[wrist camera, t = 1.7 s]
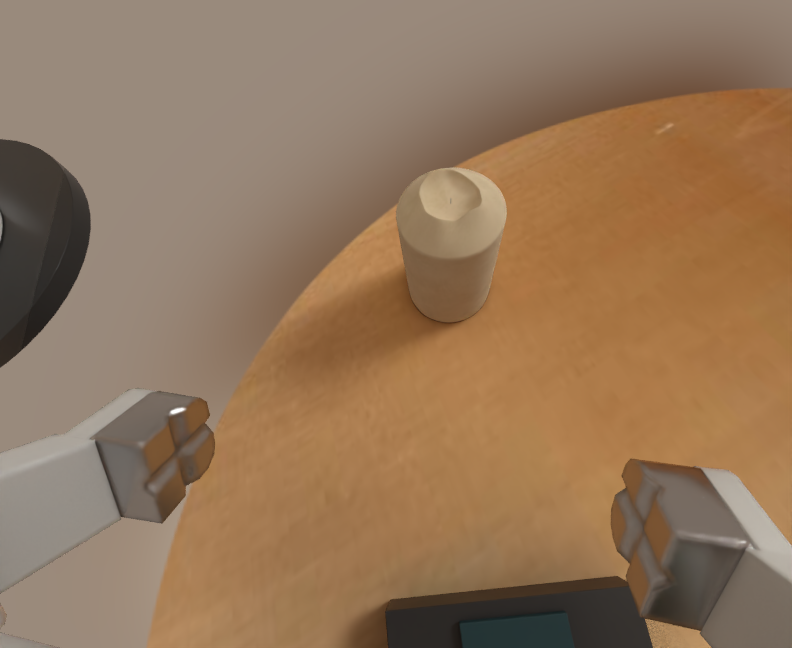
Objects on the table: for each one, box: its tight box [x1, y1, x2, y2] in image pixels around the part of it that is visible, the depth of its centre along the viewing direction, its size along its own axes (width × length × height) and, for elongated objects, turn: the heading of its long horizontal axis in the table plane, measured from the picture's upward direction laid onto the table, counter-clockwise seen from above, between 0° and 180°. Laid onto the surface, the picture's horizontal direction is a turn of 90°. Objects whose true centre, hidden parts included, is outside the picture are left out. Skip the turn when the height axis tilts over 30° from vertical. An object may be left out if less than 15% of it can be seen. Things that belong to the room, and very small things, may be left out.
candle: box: [396, 168, 507, 322], centre depth 24 cm, size 6×6×10 cm
